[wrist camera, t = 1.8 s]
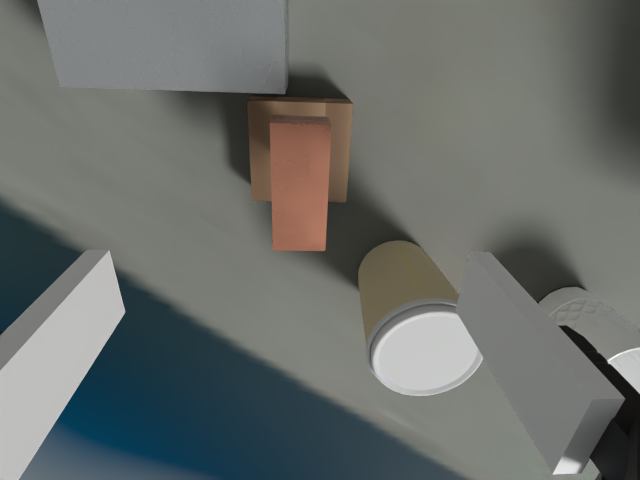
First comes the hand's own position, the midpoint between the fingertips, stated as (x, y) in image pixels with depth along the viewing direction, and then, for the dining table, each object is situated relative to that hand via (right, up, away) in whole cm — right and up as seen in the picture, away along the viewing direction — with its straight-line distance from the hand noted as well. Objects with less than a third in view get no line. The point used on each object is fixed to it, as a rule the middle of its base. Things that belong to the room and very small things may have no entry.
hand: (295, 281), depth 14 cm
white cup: (+28, -6, +29) cm, 41 cm away
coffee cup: (+9, -2, +25) cm, 27 cm away
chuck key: (-1, +10, +19) cm, 21 cm away
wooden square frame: (-1, +10, +19) cm, 21 cm away
